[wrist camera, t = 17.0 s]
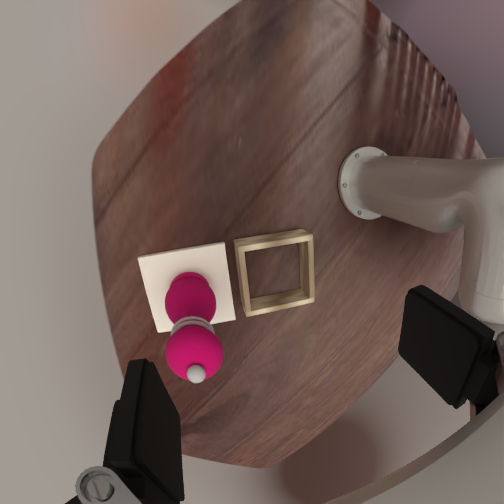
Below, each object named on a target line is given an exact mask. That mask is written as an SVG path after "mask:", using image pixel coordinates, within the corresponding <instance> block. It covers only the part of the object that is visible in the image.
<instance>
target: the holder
mask: <svg viewBox="0 0 504 504" xmlns="http://www.w3.org/2000/svg"><path fill="white" fill-rule="evenodd" d="M233 242H234V250H235V258H236V266H237V273H238V281H239V289H240V296H241V303H242V307H243V309H244V312H245V314H246V316H247V317H248V316H253V315H258V314H263V313H268V312H272V311H277V310H281V309H286V308H290V307H295V306H299V305H303V304H307V303H312V302H314V254H313V235H312V234H311V233H309V232H307V231H305V230H304V229H298V230H291V231H285V232H279V233H272V234H266V235H259V236H253V237H247V238H241V239H234V240H233ZM292 243H298V244H299V264H300V289H296V290H291V291H286V292H281V293H277V294H272V295H267V296H262V297H257V298H252V299H250V296H249V288H248V280H247V271H246V263H245V254H244V252H245V251H251V250H257V249H263V248H269V247H275V246H281V245H286V244H292Z"/></svg>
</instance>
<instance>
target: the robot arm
mask: <svg viewBox="0 0 504 504" xmlns="http://www.w3.org/2000/svg"><path fill="white" fill-rule="evenodd" d="M338 189H339V194H340V197H341V200H342V202H343V204H344V206H345V207H346V208H347V210H348V211H349V212H350V213H352V214H353V215H355V216H357V217H359V218H362V219H367V220H371V219H376V218H378V217H381V216H382V215H383V216H386V217H389V218H392V219H395V220H398V221H401V222H404V223H407V224H410V225H413V226H416V227H419V228H422V229H425V230H428V231H431V232H434V233H447V232H450V231H453V230H455V229H457V228H458V227H460V226H462V225H463V224H464V246H463V256H462V264H461V272H460V279H459V288H458V293H459V300H460V302H461V305H462V307H463V308H464V309H465V310H466V312H468V313H469V314H468V313H466V312H465V311H464V310H462V309H460V308H459V307H457V306H456V305H454V304H453V303H451V302H450V301H448V300H446V299H445V298H443V297H442V296H440V295H439V294H437V293H435V292H434V291H432V290H431V289H429V288H427V287H426V286H424V285H419V286H417V287H414V288H411V289H410V290H409V291H408V294H407V295H406V298H405V306H404V314H403V321H402V328H401V335H400V341H399V346H398V351H399V354H400V356H401V357H402V358H403V359H404V360H405V361H406V362H407V363H408V364H409V365H410V366H411V367H412V368H413V369H414V370H415V371H416V372H417V373H418V374H419V375H420V376H421V377H422V378H423V379H424V380H425V381H426V382H427V383H428V384H429V385H430V386H431V387H432V388H433V389H434V390H435V391H436V392H437V393H438V394H439V395H440V396H441V397H442V398H443V400H444V401H445V402H446V403H448V404H449V405H452V406H453V407H454V408H455V409H458V408H459V407H460V406H462V405H463V404H464V403H465V402H466V400H467V399H468V400H469V401H470V421H469V422H468V423H467V424H466V425H464V426H463V427H462V428H461V429H459V430H458V431H457V432H455V433H454V434H453V435H451V436H450V437H449V438H447V439H446V440H444V441H443V442H442V443H440V444H439V445H437V446H436V447H434V448H433V449H431V450H430V451H428V452H427V453H425V454H424V455H422V456H421V457H419V458H417V459H416V460H414V461H412V462H411V463H409V464H407V465H406V466H404V467H402V468H400V469H398V470H397V471H395V472H393V473H391V474H389V475H387V476H386V477H384V478H381V479H379V480H377V481H375V482H373V483H371V484H369V485H367V486H365V487H363V488H360V489H358V490H356V491H354V492H351V493H349V494H346V495H344V496H341V497H339V498H336V499H334V500H331V501H328V502H325V503H323V504H504V331H503V332H501V333H499V334H498V335H497V338H496V340H495V341H494V340H493V336H494V333H495V331H493V330H492V329H490V328H489V327H487V326H486V325H484V324H483V323H481V322H480V321H479V320H477V319H476V318H478V319H480V320H484V321H487V322H492V323H498V324H504V158H490V159H477V160H454V159H438V158H423V157H405V156H388V155H387V154H386V153H385V152H383V151H382V150H380V149H378V148H375V147H361V148H357V149H355V150H353V151H352V152H351V153H350V154H348V156H347V157H346V158H345V159H344V161H343V163H342V165H341V168H340V171H339V176H338ZM471 315H472V316H471ZM473 316H474V317H475V318H474V317H473ZM75 486H76V493H77V496H75V497H74V498H72V499H71V500H70V501H68V502H67V503H65V504H180V501H184V498H185V497H184V484H183V470H182V453H181V428H180V417H179V413H178V411H177V409H176V407H175V406H174V404H173V402H172V400H171V398H170V396H169V394H168V392H167V390H166V388H165V386H164V384H163V382H162V380H161V377H160V375H159V373H158V371H157V369H156V367H155V365H154V363H153V362H148V360H147V359H138V360H130V361H129V363H128V367H127V371H126V375H125V380H124V384H123V389H122V393H121V398H120V400H117V401H116V402H115V404H114V408H113V412H112V417H111V422H110V427H109V432H108V437H107V443H106V449H105V454H104V461H103V467H101V466H95V467H90V468H88V469H86V470H85V471H83V472H82V473H81V474H80V476H79V477H78V479H77V481H76V485H75Z"/></svg>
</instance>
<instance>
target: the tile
mask: <svg viewBox="0 0 504 504" xmlns="http://www.w3.org/2000/svg"><path fill="white" fill-rule="evenodd" d="M138 261H139V265H140V269H141V273H142V277H143V281H144V285H145V289H146V293H147V296H148V300H149V304H150V307H151V311H152V314H153V318H154V321H155V324H156V328H157V331H158V333H160V332H166V331H171V330H172V327H173V326H174V324H173V323H172V322H171V320H170V319H169V317H168V315H167V313H166V310H165V296H166V293H167V291H168V290H169V288H170V284H171V282H172V281H173V279H174V278H175V277H176V276H178V275H179V274H181V273H184V272H195V273H198V274H200V275H202V276H203V277H204V278H205V279H206V280H207V281H208V283H209V286H210V288H211V289H212V290H213V292H214V294H215V297H216V312H215V315H214V317H213V319H212V320H211V322H210V324H215V323H220V322H225V321H231V320H236V319H235V312H234V306H233V299H232V293H231V286H230V279H229V272H228V265H227V258H226V250H225V243H224V242H218V243H212V244H206V245H200V246H194V247H188V248H182V249H176V250H170V251H165V252H159V253H153V254H147V255H142V256H139V257H138Z"/></svg>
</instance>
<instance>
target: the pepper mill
mask: <svg viewBox="0 0 504 504" xmlns="http://www.w3.org/2000/svg"><path fill="white" fill-rule="evenodd" d="M165 310H166V313H167V315H168V317H169V319H170V320H171V322H172V323H173V324H174V326H173V327H172V330H171V337H170V338H169V340H168V341H167V345H166V353H165V354H166V360H167V363H168V365H169V367H170V368H171V370H172V371H173V372H174V373H175V374H176V375H178V376H179V377H181V378H183V379H186V380H190V381H191V382H193V383H200V382H202V381H203V380H205V379H207V378H209V377H211V376H213V375H214V374H215V373H216V372H217V371H218V369H219V368H220V366H221V364H222V360H223V348H222V345H221V342H220V340H219V339H218V337H217V336H216V335H215V333H214V329H213V327H212V326H211V324H210V322H211V320H212V319H213V317H214V315H215V312H216V297H215V294H214V292H213V290H212V289H211V288H210V286H209V283H208V281H207V280H206V279H205V278H204V277H203V276H202V275H200V274H198V273H195V272H184V273H181V274H179V275H178V276H176V277H175V278H174V279H173V281H172V282H171V284H170V288H169V290H168V291H167V293H166V296H165Z"/></svg>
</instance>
